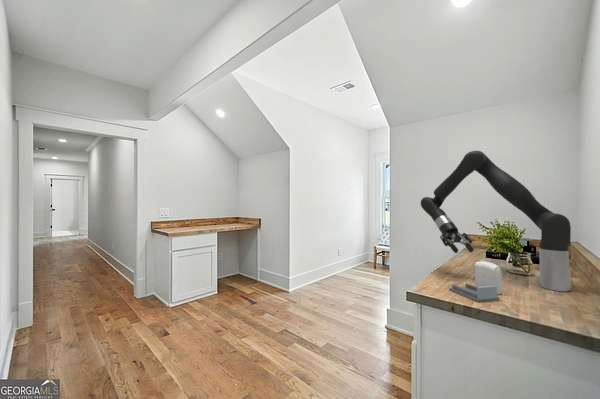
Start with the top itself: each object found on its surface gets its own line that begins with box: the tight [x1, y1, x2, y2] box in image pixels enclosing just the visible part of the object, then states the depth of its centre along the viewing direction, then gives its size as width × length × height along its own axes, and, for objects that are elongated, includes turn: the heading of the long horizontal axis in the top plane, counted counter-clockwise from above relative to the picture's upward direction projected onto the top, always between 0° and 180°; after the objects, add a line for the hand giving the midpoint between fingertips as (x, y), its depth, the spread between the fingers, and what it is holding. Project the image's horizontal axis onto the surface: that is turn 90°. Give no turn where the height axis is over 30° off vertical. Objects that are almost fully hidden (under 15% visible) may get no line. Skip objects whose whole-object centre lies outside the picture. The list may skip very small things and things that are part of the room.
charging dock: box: [449, 283, 500, 303], centre depth 104 cm, size 10×14×6 cm
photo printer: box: [474, 260, 503, 295], centre depth 109 cm, size 10×4×12 cm, turn 13°
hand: (464, 251), depth 121 cm, fingers open, 8 cm apart
